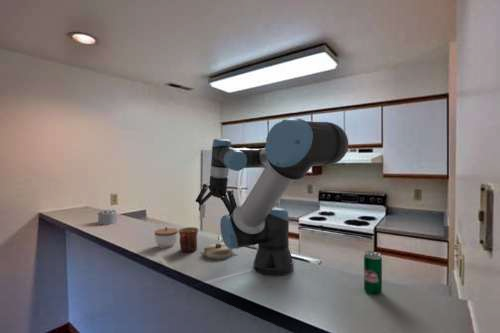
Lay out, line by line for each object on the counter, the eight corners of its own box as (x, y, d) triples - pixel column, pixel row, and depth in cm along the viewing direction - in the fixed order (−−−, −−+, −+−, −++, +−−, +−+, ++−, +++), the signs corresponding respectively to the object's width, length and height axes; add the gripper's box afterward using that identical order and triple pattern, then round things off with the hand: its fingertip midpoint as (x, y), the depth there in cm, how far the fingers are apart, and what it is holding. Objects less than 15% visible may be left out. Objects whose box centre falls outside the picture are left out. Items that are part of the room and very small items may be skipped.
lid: (237, 255, 113) (237, 245, 113) (211, 261, 107) (211, 250, 107) (224, 247, 123) (224, 238, 123) (200, 252, 117) (199, 243, 117)
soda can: (361, 291, 83) (361, 253, 83) (367, 286, 86) (367, 249, 86) (378, 297, 79) (378, 257, 79) (384, 291, 83) (384, 253, 83)
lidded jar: (169, 251, 122) (169, 230, 122) (149, 249, 126) (149, 229, 126) (182, 244, 132) (182, 225, 132) (164, 242, 136) (164, 224, 136)
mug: (184, 248, 126) (183, 226, 126) (201, 249, 124) (201, 227, 124) (171, 257, 114) (171, 233, 114) (190, 259, 112) (190, 234, 112)
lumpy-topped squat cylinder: (113, 220, 189) (113, 208, 188) (119, 223, 179) (119, 210, 179) (96, 222, 181) (96, 210, 181) (102, 226, 172) (102, 212, 172)
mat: (237, 257, 113) (237, 255, 113) (211, 263, 107) (211, 261, 107) (224, 249, 124) (224, 247, 123) (200, 254, 117) (200, 252, 117)
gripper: (249, 180, 110) (244, 227, 115) (200, 168, 120) (196, 212, 125) (241, 184, 103) (235, 234, 108) (189, 171, 114) (186, 217, 118)
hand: (214, 222), depth 117 cm, fingers open, 13 cm apart
